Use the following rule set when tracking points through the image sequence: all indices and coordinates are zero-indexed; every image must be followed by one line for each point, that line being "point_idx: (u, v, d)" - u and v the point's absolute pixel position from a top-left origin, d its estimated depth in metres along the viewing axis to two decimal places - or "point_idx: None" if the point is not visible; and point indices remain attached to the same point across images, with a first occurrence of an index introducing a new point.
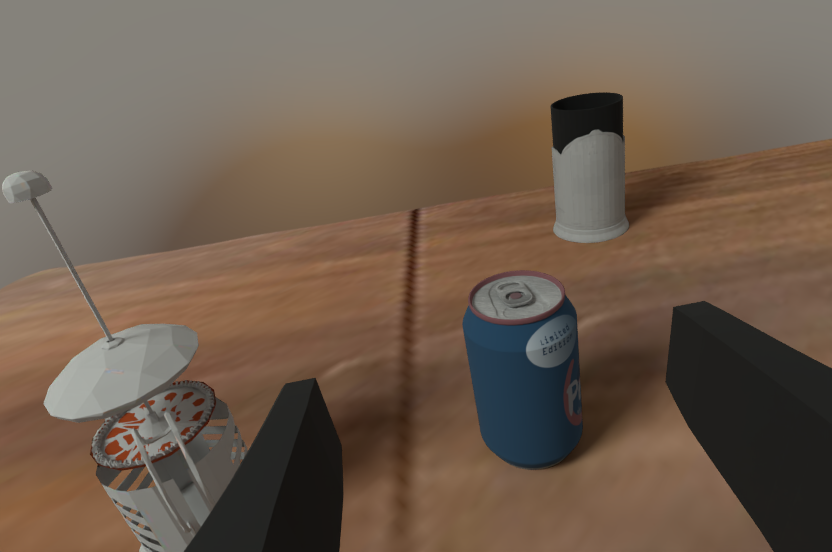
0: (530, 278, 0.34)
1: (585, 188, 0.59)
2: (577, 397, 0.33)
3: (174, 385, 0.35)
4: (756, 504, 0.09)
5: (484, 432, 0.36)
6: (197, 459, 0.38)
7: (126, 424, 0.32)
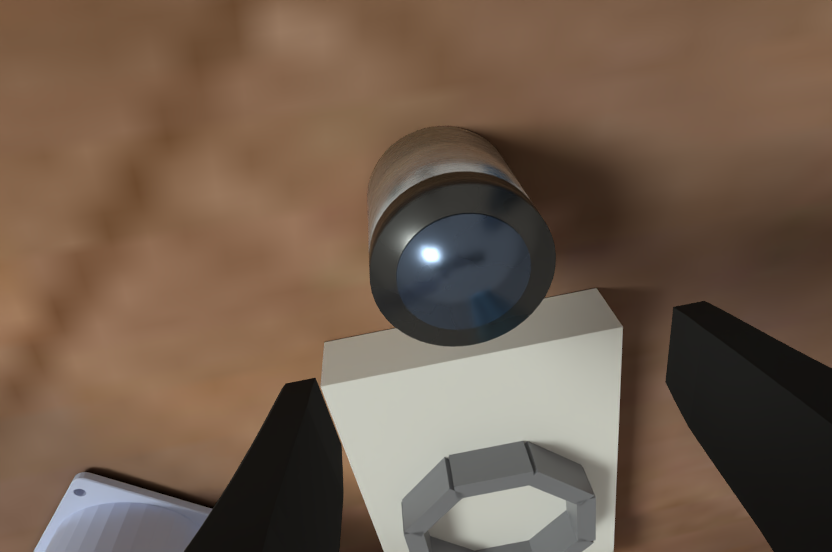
0: None
1: None
2: None
3: None
4: (756, 504, 0.09)
5: None
6: None
7: None
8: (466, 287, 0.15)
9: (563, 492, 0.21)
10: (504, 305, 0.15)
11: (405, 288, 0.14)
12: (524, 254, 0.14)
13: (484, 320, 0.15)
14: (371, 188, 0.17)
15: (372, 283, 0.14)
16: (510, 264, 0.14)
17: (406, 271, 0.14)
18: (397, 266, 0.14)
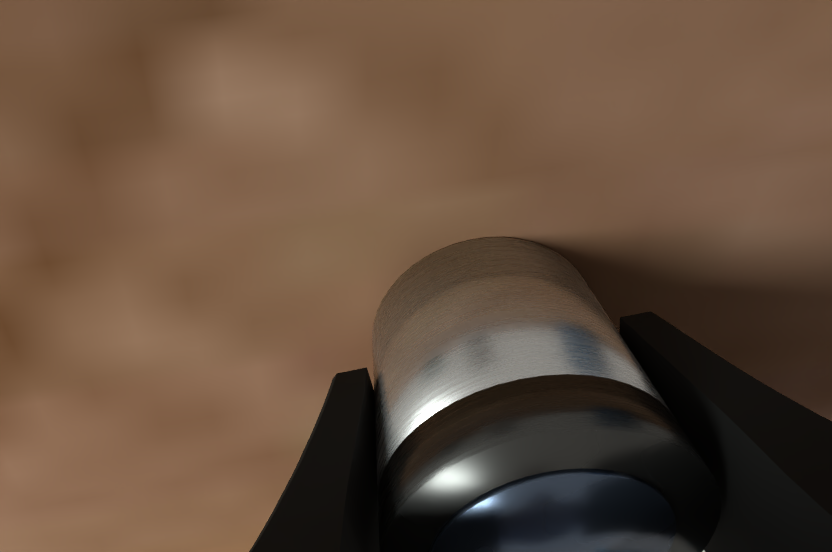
0: None
1: None
2: None
3: None
4: None
5: None
6: None
7: None
8: None
9: None
10: None
11: None
12: (665, 519, 0.08)
13: None
14: (379, 341, 0.10)
15: None
16: (638, 537, 0.08)
17: (448, 551, 0.08)
18: (431, 549, 0.07)
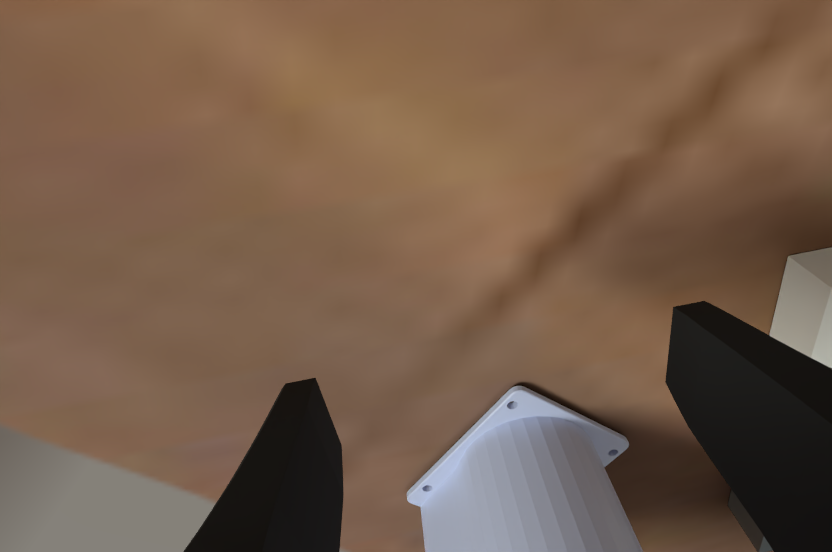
0: None
1: None
2: None
3: None
4: (756, 504, 0.09)
5: None
6: None
7: None
8: None
9: None
10: None
11: None
12: None
13: None
14: None
15: None
16: None
17: None
18: None
